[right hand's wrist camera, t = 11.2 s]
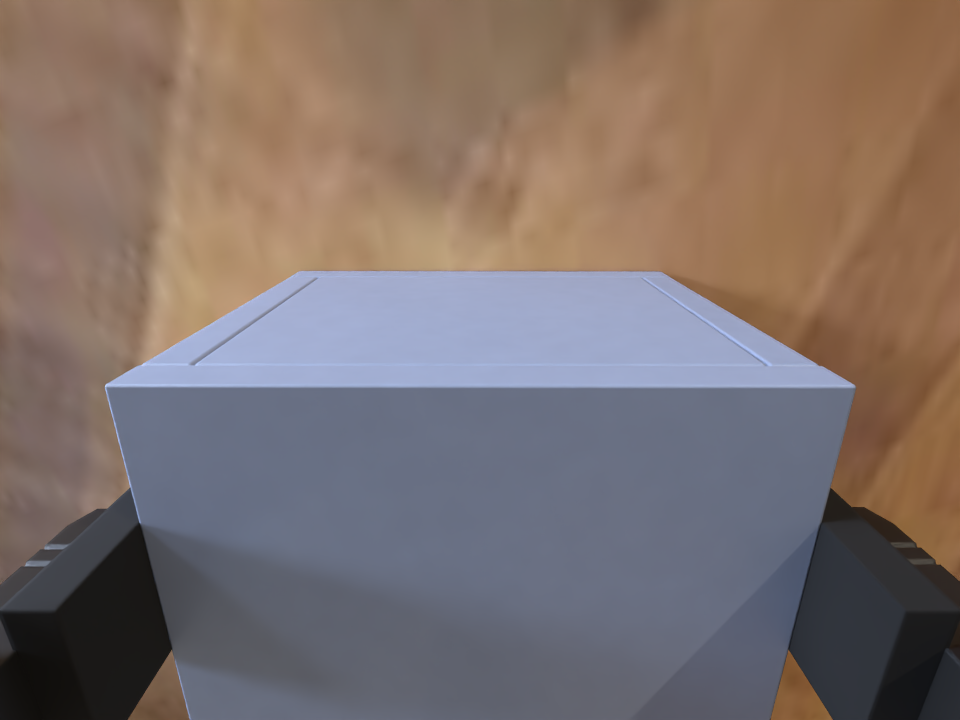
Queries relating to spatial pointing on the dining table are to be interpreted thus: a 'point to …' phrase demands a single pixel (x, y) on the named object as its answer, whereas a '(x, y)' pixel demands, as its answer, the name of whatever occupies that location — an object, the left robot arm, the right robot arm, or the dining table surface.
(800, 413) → the cabinet
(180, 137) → the dining table surface
